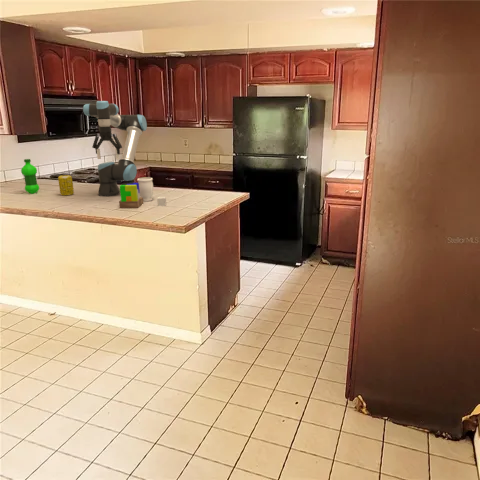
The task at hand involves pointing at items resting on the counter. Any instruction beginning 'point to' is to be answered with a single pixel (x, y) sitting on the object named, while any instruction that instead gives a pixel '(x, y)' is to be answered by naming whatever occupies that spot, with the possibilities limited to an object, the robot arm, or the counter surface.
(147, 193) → the jar
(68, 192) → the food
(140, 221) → the counter surface
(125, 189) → the puzzle toy
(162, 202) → the beige wooden block
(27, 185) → the plastic bottle
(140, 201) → the walnut block
